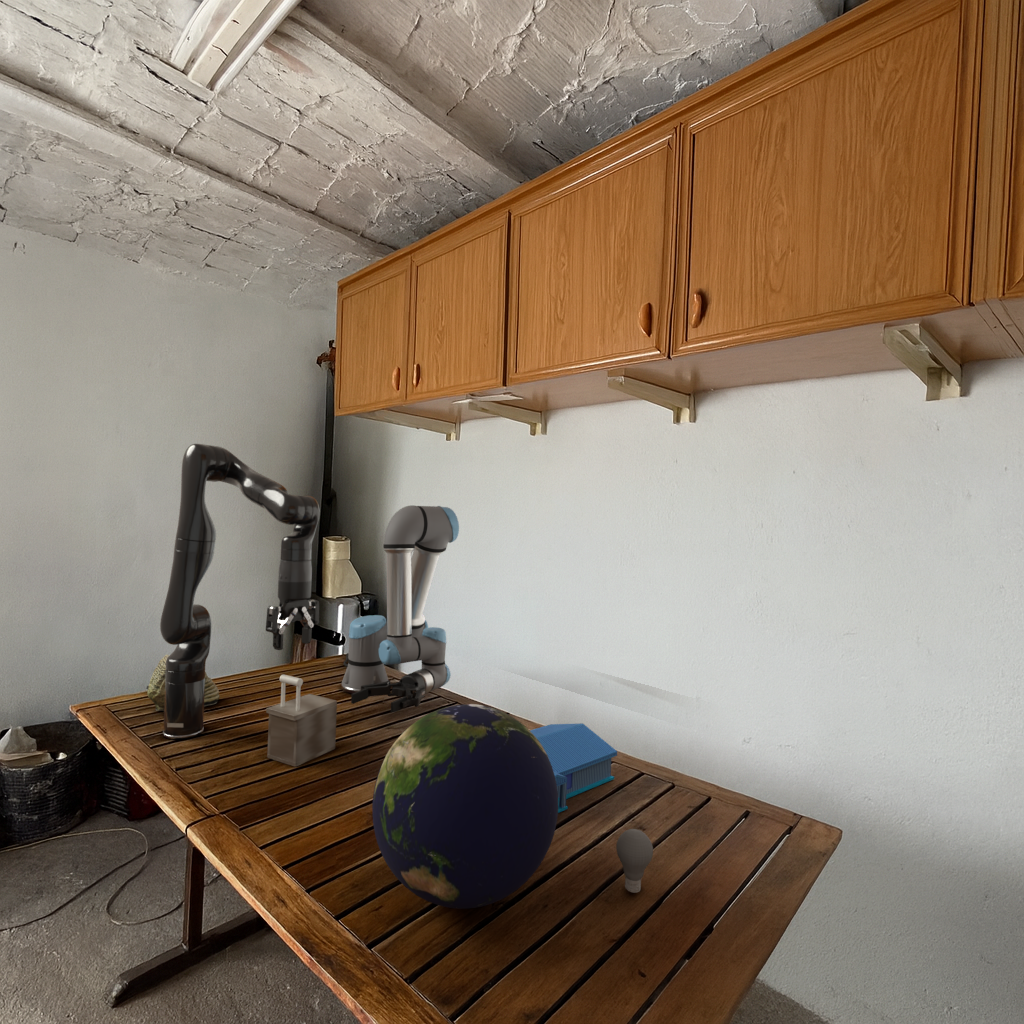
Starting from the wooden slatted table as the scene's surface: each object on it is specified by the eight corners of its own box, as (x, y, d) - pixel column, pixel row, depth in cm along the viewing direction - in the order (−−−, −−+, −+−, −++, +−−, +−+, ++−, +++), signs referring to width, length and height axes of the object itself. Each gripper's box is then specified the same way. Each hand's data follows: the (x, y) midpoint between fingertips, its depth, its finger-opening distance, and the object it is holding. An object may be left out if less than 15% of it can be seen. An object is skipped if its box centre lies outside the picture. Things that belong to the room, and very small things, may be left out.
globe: (328, 919, 95) (336, 721, 95) (427, 827, 123) (434, 674, 122) (512, 985, 84) (522, 760, 83) (576, 867, 112) (584, 698, 111)
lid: (294, 720, 147) (296, 682, 147) (266, 712, 151) (267, 676, 151) (337, 705, 159) (338, 670, 159) (309, 698, 163) (310, 663, 163)
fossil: (144, 707, 182) (145, 655, 182) (212, 696, 194) (213, 647, 194) (151, 716, 175) (153, 662, 175) (221, 703, 188) (223, 653, 188)
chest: (295, 767, 148) (297, 720, 147) (267, 757, 152) (268, 712, 152) (335, 748, 159) (337, 705, 159) (307, 740, 164) (309, 698, 163)
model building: (497, 839, 120) (500, 786, 120) (424, 791, 138) (425, 745, 138) (625, 783, 146) (627, 740, 146) (549, 749, 164) (551, 711, 164)
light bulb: (610, 879, 108) (613, 822, 108) (644, 879, 109) (647, 822, 109) (619, 902, 102) (622, 840, 102) (655, 901, 103) (658, 840, 103)
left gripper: (282, 583, 143) (280, 654, 143) (328, 577, 155) (325, 643, 156) (259, 579, 146) (257, 649, 147) (306, 574, 159) (303, 639, 159)
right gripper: (449, 703, 189) (408, 725, 170) (382, 689, 200) (336, 708, 181) (450, 679, 189) (409, 697, 170) (383, 666, 200) (337, 682, 181)
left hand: (292, 646), depth 151 cm, fingers open, 8 cm apart
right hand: (371, 703), depth 175 cm, fingers open, 13 cm apart
